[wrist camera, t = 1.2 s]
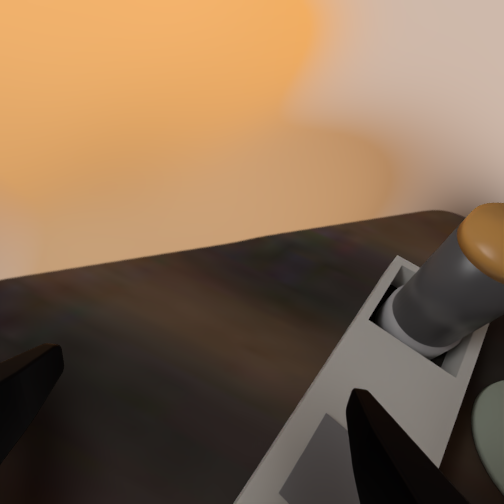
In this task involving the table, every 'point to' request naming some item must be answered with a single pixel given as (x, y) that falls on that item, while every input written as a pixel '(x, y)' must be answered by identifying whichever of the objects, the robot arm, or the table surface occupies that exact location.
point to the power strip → (384, 391)
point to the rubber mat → (490, 431)
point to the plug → (452, 287)
